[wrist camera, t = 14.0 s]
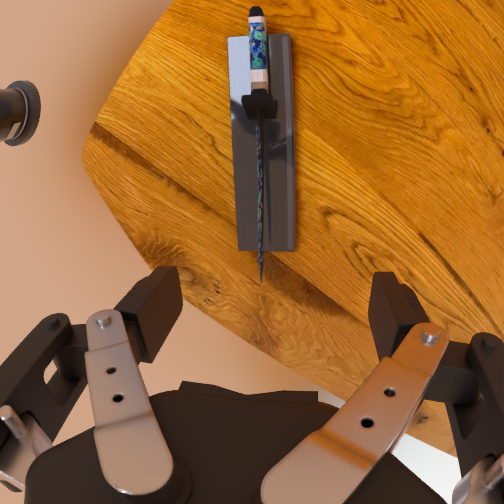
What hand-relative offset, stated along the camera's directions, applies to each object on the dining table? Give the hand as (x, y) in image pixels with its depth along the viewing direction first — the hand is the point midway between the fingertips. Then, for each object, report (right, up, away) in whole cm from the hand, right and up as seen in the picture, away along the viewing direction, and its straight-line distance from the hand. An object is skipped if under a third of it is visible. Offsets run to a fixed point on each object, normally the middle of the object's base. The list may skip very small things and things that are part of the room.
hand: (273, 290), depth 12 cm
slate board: (+1, +14, +22) cm, 27 cm away
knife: (0, +13, +20) cm, 24 cm away
